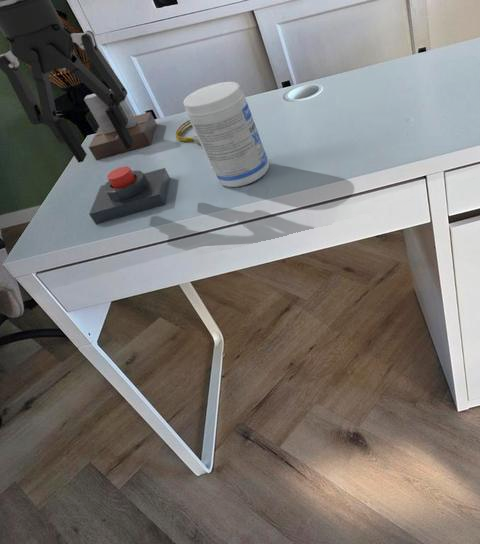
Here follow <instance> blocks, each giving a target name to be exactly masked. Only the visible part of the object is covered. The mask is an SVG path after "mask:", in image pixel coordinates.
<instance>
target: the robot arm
mask: <svg viewBox="0 0 480 544" xmlns="http://www.w3.org/2000/svg"><path fill="white" fill-rule="evenodd" d="M0 31H1V33H2V34H3V36H4V37H5V38H6V39H7V41H8V44H9V50H8V51H7V52H4V53H1V54H0V71H2V72H3V73H4V74H5V76H6V77H7V79H8V81H9V82H10V85H11V88H12V89H13V91H14V93H15V95H16V96H17V98H18V100H19V103H20V104H21V106H22V109H23V110H24V113H25V114H26V116H27V118H28V120H29V122H30V124H32V125H35V126H37V125H46V126H47V127H48V128H49V129H50V131H51V133H52V134H53V135H54V137H55V138H56V140H57V141H58V143H60V144H62V145H63V144H66V145H67V147H68V148H69V150H70V152H71V153H72V155H73V156H74V158H75V159H76V161H77V163H78V164H79V163H82V162H84V161H85V159H86V157H87V152H86V150H85V149H84V148H83V146H82V144H81V143H80V141H79V139H78V138H77V136H76V135H75V133H74V132H73V129H72V128H71V127H70V125H69V123H68V122H67V120H66V118H65V117H61V118H59V114H57V108H56V103H55V99H54V93H53V89H52V84H51V79H50V73H51V72H52V71H53V70H62V69H66V70H67V71H68V72H69V73H70V74H73V75H74V76H75V77H76V78H77V79H78V80H79V81H80V82H81V83H82V84H84V86H86V88H88V89H89V91H91V92H92V94H95V95H97V96H98V97H99V98H100V99H101V100H102V101H103V102H104V103H105V104H106V105H107V106H108V107H107V109H106V111H105V112H106V114H107V115H108V117H109V119H110V121H111V123H112V124H113V126H114V128H115V130H116V131H117V133H118V135H119V137H120V139H121V140H122V142H123V144H124V146H125V148H126V149H130V148H131V147H132V144H133V140H132V138H131V136H130V134H129V132H128V131H127V129H126V127H125V126H127V124H128V118H127V116H126V115H125V113H124V111H123V109H122V107H121V105H120V102H122V101H124V100H126V98H127V95H128V90H127V89H126V87H125V86H124V84H123V83H122V82H121V80H120V78H119V77H118V76H117V74H116V72H115V71H114V69H113V68H112V67H111V64H110V63H109V61H108V60H107V59H106V57H105V56H104V55H103V53H102V51H101V50H100V49H99V47H98V44H97V41H96V36H95V34H94V33H93V32H92V31H91V30H86V31H84V32H73V33H72V31H70V30H69V29H68V28H67V27H66V26H65V24H64V23H63V21H62V19H61V17H60V16H59V14H58V12H57V10H56V8H55V6H54V5H53V3H52V1H51V0H0ZM74 44H76V45H77V46H78V47H79V49H81V50H82V51H84V52H85V54H86V56H87V57H88V59H89V61H90V62H91V63H92V65H93V66H94V68H95V69H96V70H97V72H98V73H99V75H100V76H101V78H102V79H103V80H104V82H105V84H106V85H107V86H108V87H107V86H106V85H105V84H104V83H103V82H102V81H101V80H100V79H99V78H98V77H97V76H96V75H95V74H94V73H93V72H92V71H91V70H90V69H89V68H88V67H86V65H85V64H84V63H83V61H82V60H81V59H80V58H79V57H78V56H77V55H76V54H75V53H74V46H75V45H74ZM19 60H20V61H22V62H23V63H25V64H27V65H28V66H30V69H31V73H32V77H33V80H34V81H35V85H36V90H37V91H36V92H37V95H38V100H39V103H40V105H39V103H38V102H37V100H36V97H35V95H34V93H33V91H32V89H31V87H30V85H29V83H28V80H27V79H26V77H25V75H24V73H23V71H22V69H21V68H20V62H19ZM109 89H111V91H112V92H113V93H112V92H111V91H110V90H109ZM58 118H59V119H58Z"/></svg>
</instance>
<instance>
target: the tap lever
mask: <svg viewBox="0 0 480 544" xmlns="http://www.w3.org/2000/svg"><path fill="white" fill-rule="evenodd" d="M108 89H109V90H110V91H111V89H110V88H108ZM111 92H112V91H111ZM112 93H113V92H112ZM83 101H84V102H85V105H86V106H87V107H88V109H89V111H90V113H91V114H92V116H93V118H94V119H95V121H96V123H97V125H98V127H99V126H100V128H101V130H102V132H103V133H104V135H105V134H109V133H112V132H116V130H115V128H114V126H113V124H112V123H111V121H110V119H109V117H108V115H107V114H106V112H105V111H106V109H107V107H108V106H107V105H106V104H105V103H104V102H103V101H102V100H101V99H100V98H99V97H98V96H97V95H95V94H94V93H91V94H87V95H86V96H85V97H84V99H83ZM120 105H121V107H122V109H123V111H124V113H125V115H126V116H127V118H128V124H127V126H125V127H126V129H127V128H131V127H134V126H136V124H137V121H136V120H135V118H134V116H135V115H134V114H133V112H132V110H131V108H130V106H129V104H128V102H127V100H126V99H125V100H124V101H122V102H120Z"/></svg>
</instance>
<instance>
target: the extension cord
mask: <svg viewBox="0 0 480 544" xmlns="http://www.w3.org/2000/svg"><path fill="white" fill-rule="evenodd" d="M191 127H193V126H192V124H191V122H190V120H187V121H185V122H183V123H182V124H181V125H180V126H179V127H178V128H177V129H176V131H175V139H176V140H177V141H179V142H184V143H193V142H194V143H196V144H199V145H200V146H201V144H200V141H199V139H198V137H197V135H196V136H195V135H194V136H193V137H186V136H181V135H182V134H183V133H184V132H185V131H187V130H188V129H190V128H191Z"/></svg>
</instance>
